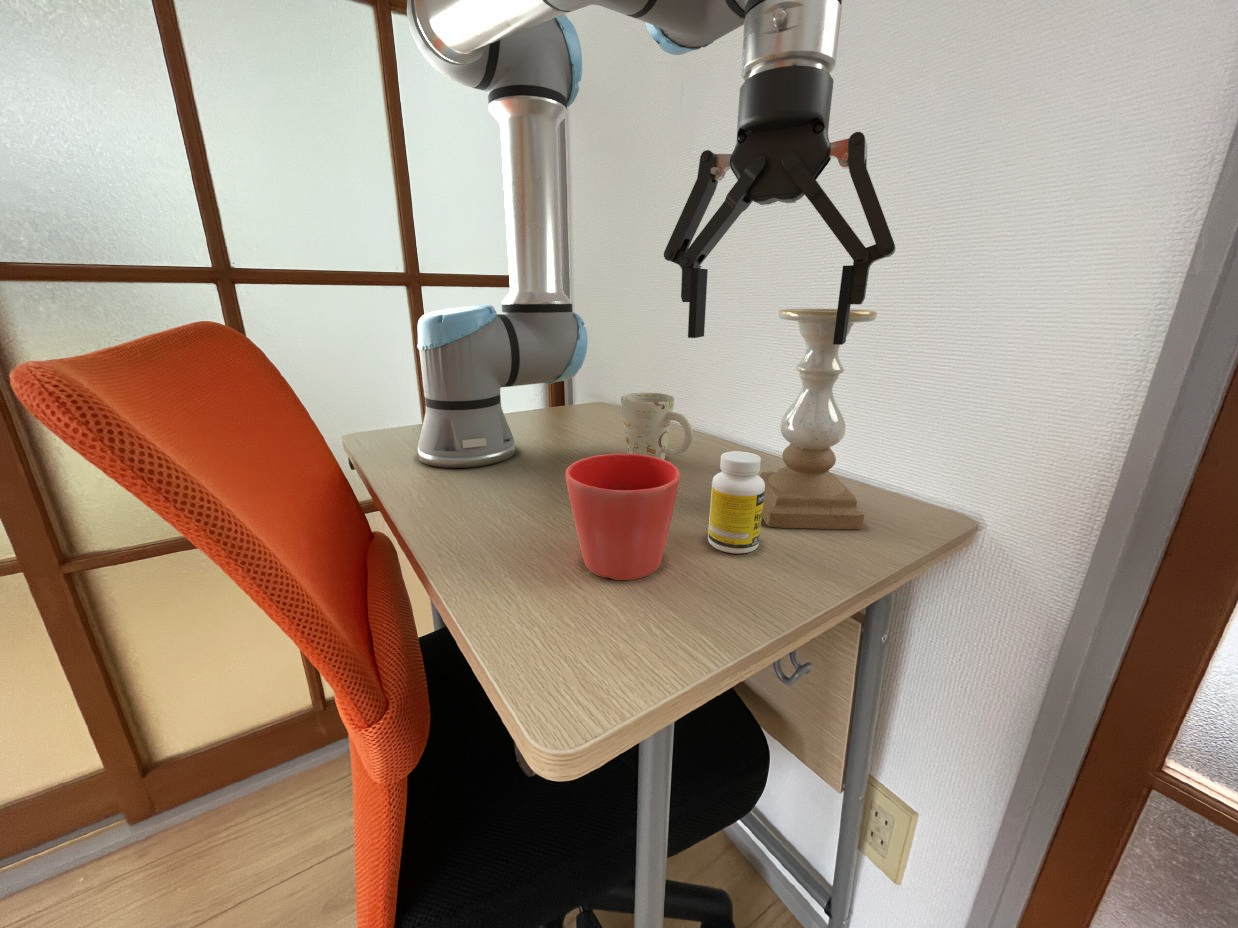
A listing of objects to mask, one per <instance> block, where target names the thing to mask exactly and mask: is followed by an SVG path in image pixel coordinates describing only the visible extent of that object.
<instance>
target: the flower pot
mask: <svg viewBox="0 0 1238 928" xmlns="http://www.w3.org/2000/svg"><path fill="white" fill-rule="evenodd" d="M680 479H681V472H680V470H679V468H678V467H677V466H676V465H674V464H673V463H672V462H670V461H668V460H666V459H664V460H663V459H660V458H657V457H652V456H647V455H639V454H627V453H607V454H597V455H594V456H588V457H585V458H581V459H579V460H577V461H575V462H573V463H571V464H570V465H569V466H568V467H567V468H566V470H565V481H566V487H567V492H568V497H569V502H570V506H571V507H570V508H571V512H572V515H573V522H574V525H575V531H576V534H577V539H578V542H579V546H580V550H581V555H582V559H583V563H584V565H585V567H586V568H587V570H589V572H591V573H593V574H594V575H596V576H598V577H601V578H610V579H611V580H615V581H633V580H637V579H642V578H646V577H648V576H650V575H652V574H653V573H655V572H656V571H657V570H658V569H659V568H660V566H661V564H662V561H663V557H664V553H665V549H666V546H667V541H668V537H669V532H670V527H671V523H672V519H673V513H674V508H675V504H676V499H677V494H678V490H679V484H680Z"/></svg>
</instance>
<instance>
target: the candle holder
mask: <svg viewBox="0 0 1238 928" xmlns="http://www.w3.org/2000/svg"><path fill="white" fill-rule="evenodd" d="M837 309H838V308H782V309H781V308H780V309H779V311H778V318H779V320H783V321H791V322H796V323H797V324H798V328H799V329H798V330H799V333H800V335H801V336H802V338H803V340H804V343H805V352H804V354H803V357H802V358H801V360H800V361H799V362H798V363H797V364H796V365H795V370H796V371H797V372H798V374H799V375H798V376H799V378H800V381H801V390H800V392H799V394H798V395H797V396H796V397H797V398H795V400H794V401H793V403H791V405H790V407H788V409H787V410H786V411H785V413H784V414H783V416H782V418H781V421H780V423H779V424H780V425H779V430H780V433H781V435H782V437H783V438H784V439H785V441H786V442H788V443H789V445H787V446H786V447H785V448H784V449H783V451H782V455H781V458H782V461H783V463H784V464H785V466H783V467H781V468H780V469H777V470H776V471H761V472H759V475H758V476H760V477H761V478H762V479H763V481H764V483H765V493H764V501H763V510H762V520H763V521H764V523H765V524H766V526H768V527H770V528H783V529H815V530H816V529H820V530H824V529H825V530H863V527H864V519H865V513H864V512H863V511H862V510H861V509H860V507H859V506H858V500H857V498H856V496H855V495H854V493H852V491H850V489H849V488H847V487H846V485H845V484H844V483H842V481H841V480H840V479H839V478H838V477H837V476H836V475H835V474H834V473H832V472H831V471H829V470H831V469H832V468H833V467H834V466H836V463H837V458H836V457H837V456H836V454H835V453H834V451H833V450H832V447H834V446H835V445H838V444H839V443H840V442H841V441H842V440H843V439H844V437H845V436H846V429H847V428H846V427H847V424H846V421H845V419H844V416H843V413H842V412H841V410H840V408H839V406H838V404H837V402H836V399H835V396H834V392H833V390H834V389H833V388H834V385H835V383H836V382H837V380H838V379H839V376H840V375H842V374H843V373H844V371H845V367H844V366H843V364H842V362H841V359H840V356H839V349H840V347H841V345H836V344H833V340H834V332H835V324H836V317H837ZM877 317H878V312H877V311H876V310H872V309H855V308H854V309H853V308H852V309H851V308H850V313H849V320H848V328H847V335H846V338H847V337H848V336H849V334H850V333H851V330H852V327H853V326H854V324H858V323H869V322H874V321H876V319H877Z"/></svg>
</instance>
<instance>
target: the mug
mask: <svg viewBox="0 0 1238 928" xmlns="http://www.w3.org/2000/svg"><path fill="white" fill-rule="evenodd" d="M620 403H621V404H620V405H621V413H622V421H623V422H622V423H623V428H624V429H623V430H624V438H625V439H624V440H625V448H626V454H639V455H647V456H652V457H657V458H660V459H663V460H666V455H669V456H670V455H671V456H678V455H681V454H684V453H685V452H686V451H687V450H689V448H690V447H691V444H692V443H693V438H694V437H693V436H694V433H693V428H692V425H691V423H690V421H689V420H688V418H687V417H686V415H684V414H682V413H680V412H675V411H674V405H675V397H674V396H672V395H670V394H665V393H659V392H633V393H626V394H623V395H622V396H621V397H620ZM672 421H676V422H678V423H679V424H680V425H681V426H682V429H683V431H684V439H683V442H682V444H681V445H680V446H679V447H678V448H676V449H674V448H673V449H672V448H669V447H667V446H668V442H669V436H670V430H671V424H672Z"/></svg>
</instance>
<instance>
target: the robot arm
mask: <svg viewBox="0 0 1238 928" xmlns="http://www.w3.org/2000/svg"><path fill="white" fill-rule="evenodd" d="M842 2H843V0H406V3H407V4H406V16H407V22H408V27H409V30H410V33H411V35H412V38H413V41H414V42H415V44H416V46H417V48H418V50H419V52H420V53H421V54H422V56H423V57H424V59H426V61H427V62H428V64H430V65H431V67H433V68H434V69H435V70H436V71H437V72H438V73H440V74H441V75H442V76H444V77H445V78H447V79H448V80H450V81H453V83H456V84H458V85H461V86H464V87H468V88H471V89H475V90H480V91H484V92H486V93H487V100H488V101H487V102H488V103H487V104H488V112H489V113H490V114H491V115H492V116H493V118H494V119H495V120H496V121H497V122H498V123H499V129H500V144H501V159H502V160H501V161H502V162H501V163H502V176H503V178H502V179H503V193H504V210H505V226H506V244H507V258H508V276H509V277H508V278H509V293H508V294H506V296H505V297H504V298H503V299H502V301H501V313H498V312H497V310H496V309H495V307H494V306H493V305H490V304H478V305H469V306H459V307H451V308H445V309H439V310H435V311H431V312H430V311H429V312H427V313H425V314H423V315H421V317H420V318H419V319H418V322H417V345H416V346H417V349H418V353H419V358H420V370H421V378H422V379H421V380H422V387H423V388H422V389H423V396H424V404H425V414H424V418H423V423H422V427H421V429H420V435H419V439H418V442H417V443H418V444H417V453H418V454H417V455H418V460H419V461H420V462H422V463H423V464H425V465H428V466H432V467H436V468H447V469H465V468H475V467H476V468H477V467H485V466H489V465H494V464H497V463H499V462H503V461H506V460H508V459H509V458H511V457H512V456H514V455H515V453H516V445H515V444H516V443H515V439H514V438H515V437H514V436H513V434H512V431H511V428H510V425H509V423H508V421H507V418H506V415H505V412H504V411H503V408H502V399H501V388H510V387H518V386H519V387H521V386H529V385H537V384H539V385H540V384H547V385H552V384H555V383H558V382H564V381H569V380H570V379H573V378H574V377H575V376H576V375H577V374H578V373H579V371H580V370H581V369H582V367H583V364H584V363H585V360H586V356H587V352H588V343H589V341H588V339H589V338H588V331H587V327H585V321H584V319H583V317H581V316H580V315H579V314H577V313H576V312H574V311H573V301H572V300H571V299H570V297H569V296H567V295H566V293H565V292H564V287H563V286H564V285H563V283H564V282H563V281H564V280H563V253H562V222H561V221H562V219H561V193H560V191H561V190H560V187H561V186H560V161H559V130H558V129H559V125H560V124H561V123H562V122H563V121H564V120H565V118H566V117H567V115H568V107H571V106H572V104H574V102H575V100H576V98H577V97H578V93H579V91H580V85H579V82H581V81H582V76H583V54H582V48H581V42H580V38H579V36H578V35H579V34H578V33H577V30H576V27H575V25H574V24H573V23H572V21H571V20H570V19H569V18H568V17H567V15H566V14H568V13H571V12H575V11H577V10H581V9H584V8H586V7H589V6H599V7H603V8H605V9H608V10H611V11H614V12H615V13H616V12H617V13H619V14H621V15H625V16H627V17H629V18H633V19H635V20H638V21H641V22H644V24H645V28H646V30H647V32H648V35H649V36H650V38H651V40H654V41H655V42H656V44H657V45H658V46H659V48H660V49H661V50H662V51H663V52H664V53H666V54H668V55H674V56H682V55H685V54H688V53H690V52H693V51H699V50H701V48H706V47H708V46H709V45H712V44H713V43H714V42H715V41H718V40H719V39H720V38H722V37H724V36H726V35H728V34H729V33H731V32H733V31H735V30H737V29H738V28H740V27H743V36H742V51H741V52H742V55H741V70H740V71H741V72H740V73H741V74H740V77H741V78H742V79H743V81H744V82H743V83H742V85H741V86H740V88H739V94H738V95H739V96H738V111H737V113H738V114H737V125H736V128H737V129H736V142H735V146H734V149H733V151H732V153H714V152H712V151H711V150H709V149H706V150H704V151H702V152H701V154H700V157H699V162H698V163H699V164H698V170H697V177H696V180H695V183H694V184H693V186H692V189H691V191H690V193H689V196H688V198H687V199H686V202H685V205H684V207H683V209H682V211H681V214H680V215H679V218H678V220H677V222H676V224H675V227H674V229H673V231H672V233H671V235H670V237H669V240H668V242H667V244H666V246H665V249H664V251H663V258H664V260H666V261H667V262H671V263H674V264H676V265H678V266H679V267H680V269H681V284H680V285H681V287H680V298H681V302H682V303H688V324H687V328H688V329H687V338H688V339H697V338H702V337H705V328H706V327H705V325H706V309H707V289H708V271H709V270H708V269H707V268H702V264H703V262H704V261H705V260H706V259H707V257H708V256H709V254H710V253H711V252H713V250H714V249H715V247H716V246H717V245H718V244H719V242H720V241H721V239H723V238H724V236H725V235H726V233H727V232H728V231H729V230H730V228H731V227H732V226H733V225H734V223H735V222H736V221H737V219H738V218H739V217H740V216H741V214H742V213H743V212H745V211H746V210H747V209H748V208H749V207H750V205H751V204H752V203H753V202H754V203H755V204H758V205H760V206H766V205H767V206H768V205H772V204H775V203H777V202H780V203H783V204H784V203H785V204H795V203H797V201H799V200H800V199H803V197H804V196H805V197H806V198H807V200H808V201H809V202H810V204H811V205H812V206H813V207H814V209H815V210H816V212H817V213H818V214H819V215H820V217H821V219H822V220H823V221H824V222H825V224H826V225H827V226H828V228H829V229H830V231H831V232H832V233H833V234H834V236H835V237H836V239H837V241H839V243H840V244H841V245H842V247H843V248H844V250H845V251H846V252H847V254H848V255H849V257H850V258H851V259H852V261H853V262H852V265H851V264H849V265H848V264H847V265H842V269H841V270H842V271H841V279H840V285H839V286H840V289H839V294H838V300H837V301H838V302H837V308H836V309H837V317H836V324H835V332H834V340H833V344H836V345H840V346H842V345H844V344H845V343H847V342H846V341H847V337H846V335H847V328H848V320H849V313H850V309H851V305H863V303H864V302H865V299H866V294H867V287H868V280H869V273H870V268H871V266H872V265H873V264H874V263H875V262H877V261H881V260H883V259H886V258H890V257H892V256H893V255H894V254H895V252H896V250H897V248H896V244H895V241H894V239H893V236H892V234H891V230H890V228H889V225H888V223H887V219H886V216H885V214H884V211H883V208H882V207H881V204H880V200H879V198H878V195H877V192H876V189H875V188H874V184H873V181H872V179H871V176H870V174H869V171H868V168H867V167H868V143H867V140H866V136H865V135H864V133H863V132H861V131H855V132H853V133H851V135H850V136H849V137H848V138H844V139H840V140H836V141H832V142H830V139H829V128H830V127H829V126H830V119H831V118H830V116H831V109H832V100H833V90H834V84H835V83H834V79H833V77H832V75H831V73H832V72H833V71H834V69H835V68H836V65H837V58H838V57H837V55H838V48H839V47H838V46H839V39H840V30H841V29H840V28H841V19H842V11H843V6H842ZM832 159H835V160H837V161H838V165H839V166H840V167H841V169H842V170H848V172H849V174H850V178H851V180H852V184H853V186H854V189H855V191H856V194H857V197H858V199H859V203H860V205H861V209H862V210H863V213H864V217H865V218H866V221H867V225H868V226H869V229H870V233H871V234H872V237H873V241H874V242H875V244H872V245H870V246H866V245H864V243H863V242H862V241H861V239H860V238H859V236H858V235H857V234H856V232H855V231H854V230H853V228H852V227H851V226H850V224H849V223H848V222H847V220H846V219H845V218H844V216H843V215H842V214H841V212H840V211H839V209H838V208H837V206H836V205H835V204H834V202H833V201H832V199H831V198H830V197H829V196H828V194H827V193H826V191H825V190H824V188H822V186H821V185H820V183H819V182H818V180H817V179H818V178H819V176H820V175H821V174H822V173H823V171H824V170H825V169H826V167H827V166H828V164H829V163H830V161H831V160H832ZM729 170H730V171H732V173H733V175H734V176H735V178H736V180H737V181H736V182H735V183H734V185H733V186H732V187H731V188H730V190H729V191H728V192H727V194H726V196H725V199H724V201H722V204H721V205H720V206H719V208H718V209H717V210H716V211H715V213H714V214H713V215H712V217H711V218H710V219H709V221H708V222H707V223H706V225H705V226H704V227H703V229H702V230H701V232H699V234H698V235H697V237H696V238H695V239H694V237H695V235H696V232H697V231H698V228H699V226H700V224H701V222H702V220H703V218H704V216H705V214H706V211H707V209H708V208H709V205H710V203H711V201H712V199H713V198H714V195H715V193H716V190H717V187H718V185H719V182H720V181H722V180H723V179H724V178H725V176H726V174H727V172H728V171H729ZM693 239H694V240H693Z"/></svg>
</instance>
